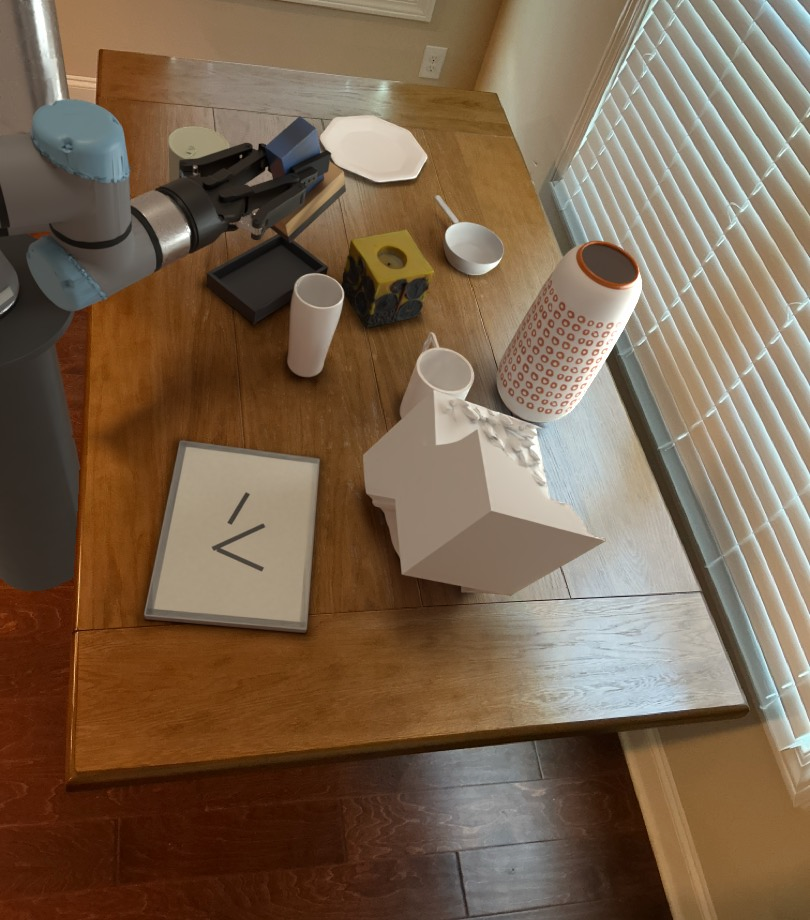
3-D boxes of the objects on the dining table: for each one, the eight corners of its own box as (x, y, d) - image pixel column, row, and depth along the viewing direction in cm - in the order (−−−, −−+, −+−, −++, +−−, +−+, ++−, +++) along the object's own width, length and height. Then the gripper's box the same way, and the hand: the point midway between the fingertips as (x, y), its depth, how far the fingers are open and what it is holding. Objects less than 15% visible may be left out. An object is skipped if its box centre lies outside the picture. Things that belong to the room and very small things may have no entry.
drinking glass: (289, 386, 108) (302, 311, 96) (276, 350, 111) (287, 274, 99) (333, 379, 110) (352, 306, 98) (319, 345, 113) (335, 270, 101)
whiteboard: (143, 619, 84) (143, 615, 83) (180, 444, 98) (180, 439, 97) (305, 633, 88) (306, 629, 87) (318, 462, 102) (319, 458, 101)
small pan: (461, 285, 129) (468, 268, 126) (406, 217, 136) (412, 200, 133) (508, 272, 134) (516, 255, 131) (454, 207, 141) (460, 190, 138)
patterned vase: (475, 371, 118) (543, 228, 96) (547, 363, 123) (628, 225, 100) (507, 440, 112) (589, 303, 89) (582, 428, 117) (677, 296, 94)
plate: (343, 110, 150) (344, 103, 149) (434, 148, 150) (436, 141, 149) (305, 159, 138) (306, 152, 137) (404, 200, 138) (406, 193, 137)
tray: (253, 324, 113) (255, 311, 111) (206, 285, 115) (206, 272, 113) (326, 278, 122) (328, 266, 120) (280, 243, 124) (282, 231, 122)
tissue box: (349, 460, 100) (463, 348, 83) (446, 487, 108) (567, 390, 91) (357, 604, 89) (490, 510, 72) (464, 622, 97) (606, 541, 80)
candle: (392, 275, 126) (406, 227, 118) (421, 317, 122) (437, 271, 114) (338, 285, 122) (349, 236, 114) (365, 330, 117) (379, 282, 109)
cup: (439, 372, 116) (457, 327, 108) (459, 435, 110) (481, 392, 102) (388, 373, 114) (404, 327, 105) (406, 438, 107) (424, 394, 99)
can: (158, 210, 121) (155, 144, 112) (185, 180, 127) (185, 115, 117) (210, 232, 122) (213, 167, 112) (235, 201, 127) (240, 138, 117)
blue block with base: (289, 243, 99) (273, 178, 87) (263, 222, 100) (242, 154, 88) (346, 191, 102) (337, 120, 89) (319, 171, 103) (307, 98, 91)
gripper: (124, 210, 87) (269, 145, 100) (220, 290, 83) (358, 212, 97) (119, 153, 81) (275, 92, 94) (223, 237, 77) (369, 161, 91)
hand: (317, 153), depth 95 cm, fingers closed on blue block with base, 3 cm apart
